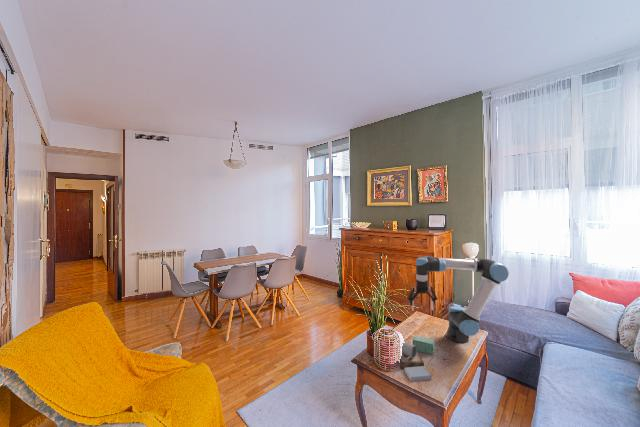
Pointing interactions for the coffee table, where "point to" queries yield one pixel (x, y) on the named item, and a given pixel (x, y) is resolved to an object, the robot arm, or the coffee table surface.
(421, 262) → the robot arm
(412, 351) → the ceramic mug
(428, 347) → the box
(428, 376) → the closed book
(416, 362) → the walnut riser
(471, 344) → the coffee table surface
